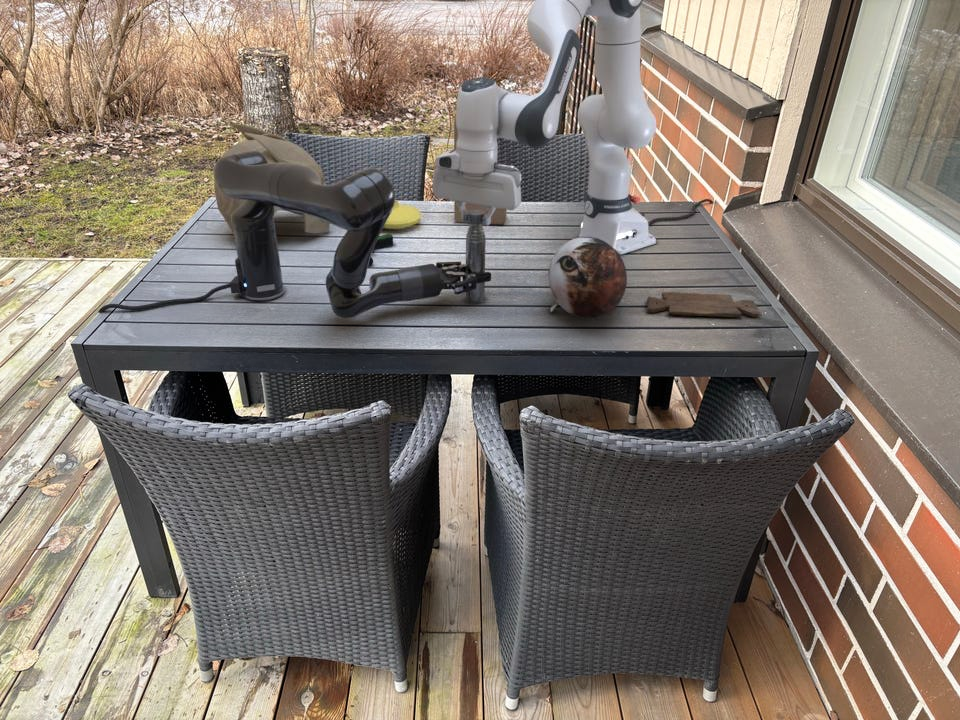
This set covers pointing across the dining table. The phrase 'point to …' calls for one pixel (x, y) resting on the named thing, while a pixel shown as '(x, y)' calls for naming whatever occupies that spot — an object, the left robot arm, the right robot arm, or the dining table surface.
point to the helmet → (274, 152)
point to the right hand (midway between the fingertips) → (475, 222)
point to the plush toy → (587, 277)
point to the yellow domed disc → (402, 217)
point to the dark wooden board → (702, 305)
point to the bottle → (475, 260)
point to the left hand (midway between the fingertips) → (485, 272)
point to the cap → (475, 216)
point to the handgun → (382, 244)
